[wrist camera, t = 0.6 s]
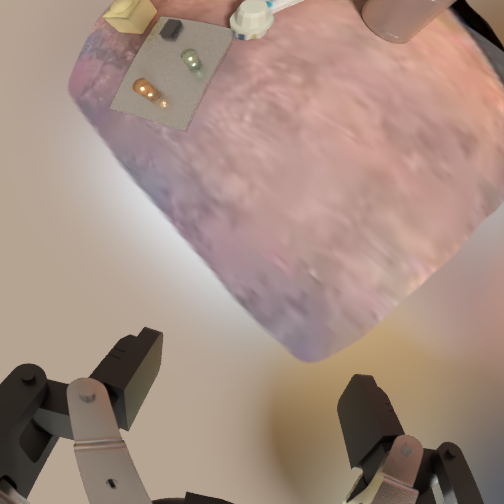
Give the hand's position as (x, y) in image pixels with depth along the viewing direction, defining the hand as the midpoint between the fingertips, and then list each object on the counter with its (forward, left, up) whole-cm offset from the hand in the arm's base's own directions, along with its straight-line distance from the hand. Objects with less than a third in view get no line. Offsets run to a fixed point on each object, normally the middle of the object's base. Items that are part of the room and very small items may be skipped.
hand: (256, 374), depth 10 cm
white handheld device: (-37, -10, -28) cm, 47 cm away
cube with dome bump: (-25, -33, -27) cm, 49 cm away
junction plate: (-18, -22, -27) cm, 39 cm away
